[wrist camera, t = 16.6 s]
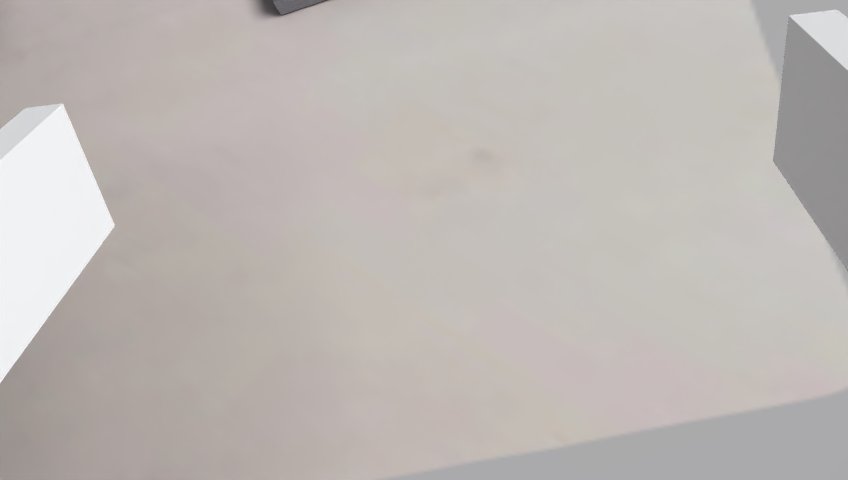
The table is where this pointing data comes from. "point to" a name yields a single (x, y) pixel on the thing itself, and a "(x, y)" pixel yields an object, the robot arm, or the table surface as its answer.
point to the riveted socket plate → (293, 5)
